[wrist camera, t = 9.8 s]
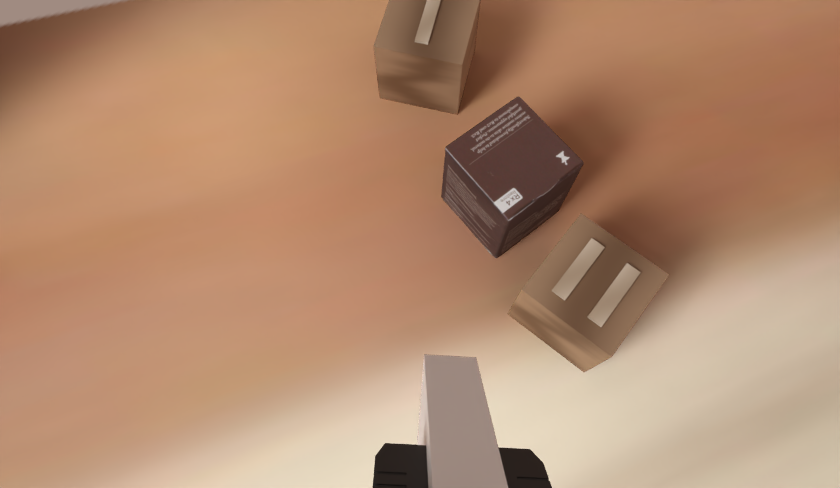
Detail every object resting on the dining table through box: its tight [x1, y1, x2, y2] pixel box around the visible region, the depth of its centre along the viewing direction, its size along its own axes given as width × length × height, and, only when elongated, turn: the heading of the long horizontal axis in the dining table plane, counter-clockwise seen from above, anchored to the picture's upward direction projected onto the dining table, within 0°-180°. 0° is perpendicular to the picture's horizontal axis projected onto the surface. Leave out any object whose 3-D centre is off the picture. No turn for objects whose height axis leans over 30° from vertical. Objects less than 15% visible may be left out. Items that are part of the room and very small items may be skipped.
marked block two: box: [508, 214, 669, 372], centre depth 37 cm, size 6×6×6 cm
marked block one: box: [374, 0, 481, 114], centre depth 43 cm, size 6×6×6 cm
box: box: [441, 97, 583, 258], centre depth 38 cm, size 6×6×7 cm
